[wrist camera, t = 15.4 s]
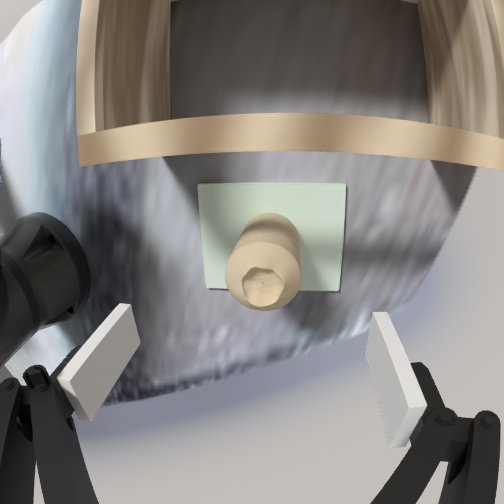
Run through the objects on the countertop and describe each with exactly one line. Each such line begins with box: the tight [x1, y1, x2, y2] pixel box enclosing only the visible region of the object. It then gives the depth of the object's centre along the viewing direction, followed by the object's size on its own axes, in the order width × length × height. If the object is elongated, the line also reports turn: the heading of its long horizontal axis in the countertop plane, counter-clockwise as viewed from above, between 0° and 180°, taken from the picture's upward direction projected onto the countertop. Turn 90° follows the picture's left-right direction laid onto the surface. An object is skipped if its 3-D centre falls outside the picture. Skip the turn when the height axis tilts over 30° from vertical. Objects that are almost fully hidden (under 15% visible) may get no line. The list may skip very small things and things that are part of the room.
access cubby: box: [76, 0, 504, 171], centre depth 18 cm, size 28×18×13 cm, turn 91°
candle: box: [225, 213, 301, 311], centre depth 26 cm, size 6×6×10 cm
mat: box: [197, 182, 346, 291], centre depth 30 cm, size 14×11×1 cm
